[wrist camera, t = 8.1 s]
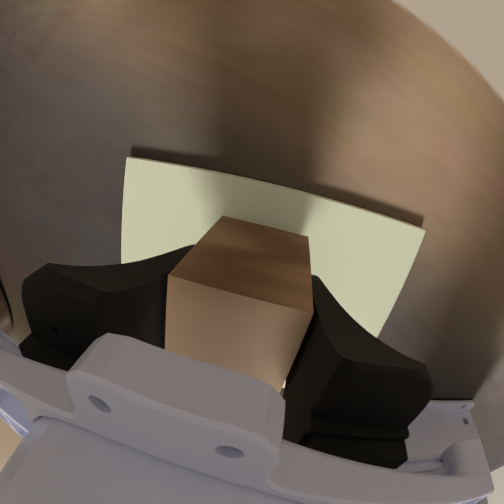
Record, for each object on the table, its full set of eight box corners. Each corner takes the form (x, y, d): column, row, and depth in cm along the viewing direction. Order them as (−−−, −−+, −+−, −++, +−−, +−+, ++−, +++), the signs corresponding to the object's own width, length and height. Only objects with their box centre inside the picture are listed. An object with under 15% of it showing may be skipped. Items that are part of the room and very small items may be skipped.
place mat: (422, 227, 13) (425, 230, 13) (374, 333, 16) (376, 338, 15) (131, 156, 14) (126, 157, 14) (125, 268, 17) (121, 272, 16)
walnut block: (308, 236, 13) (313, 313, 7) (285, 308, 14) (275, 401, 9) (222, 215, 13) (168, 274, 8) (210, 289, 15) (164, 370, 9)
